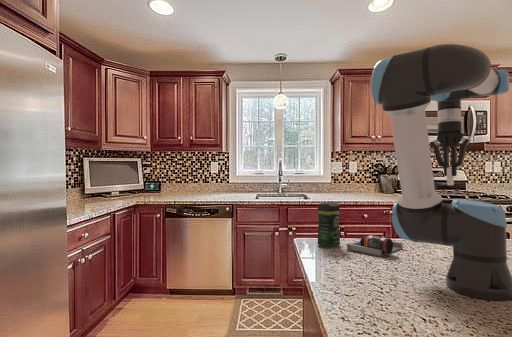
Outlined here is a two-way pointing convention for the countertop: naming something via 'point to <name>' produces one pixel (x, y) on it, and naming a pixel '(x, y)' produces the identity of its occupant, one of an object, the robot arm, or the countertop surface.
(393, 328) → the countertop surface
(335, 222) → the coffee jar
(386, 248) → the supplement bottle
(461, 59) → the robot arm
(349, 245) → the tray
